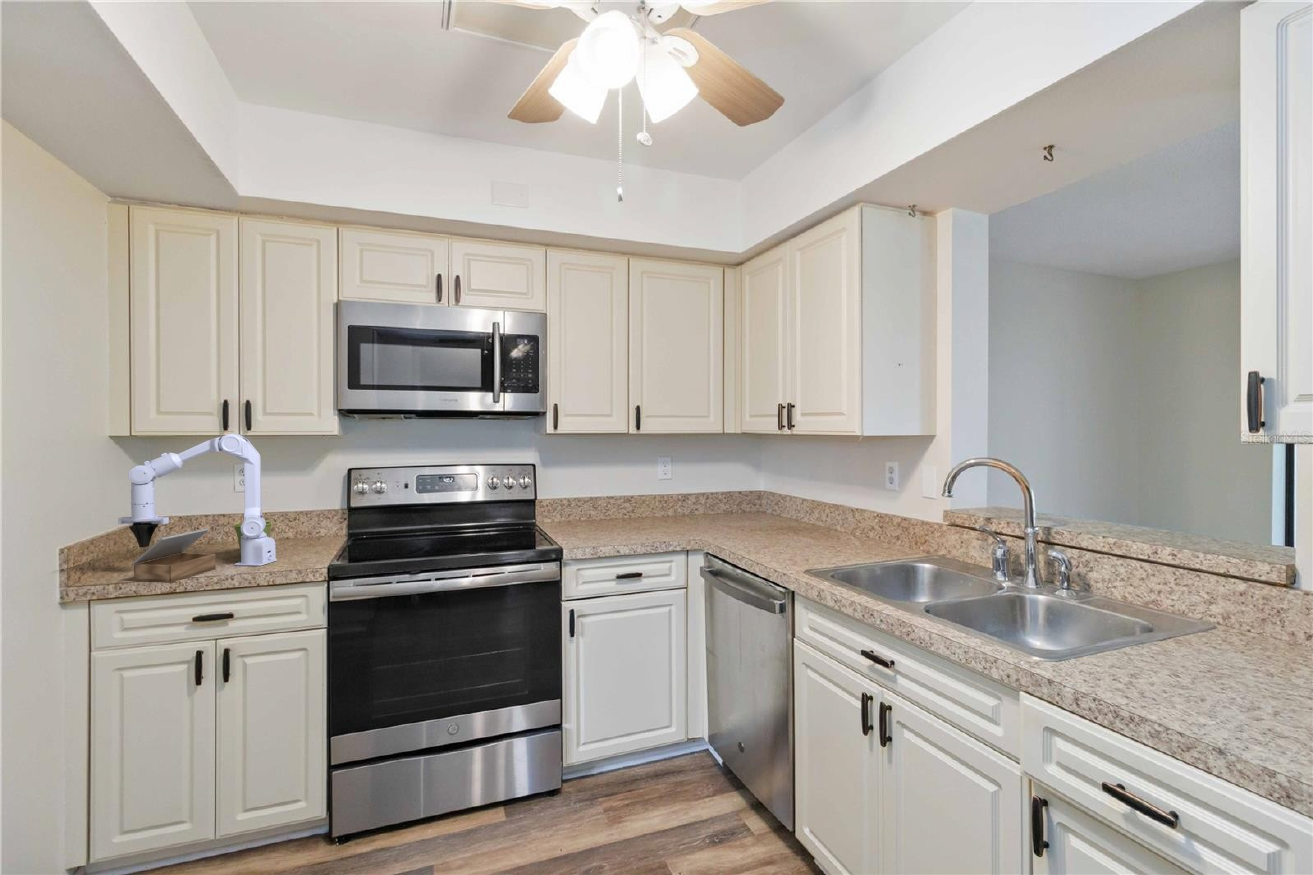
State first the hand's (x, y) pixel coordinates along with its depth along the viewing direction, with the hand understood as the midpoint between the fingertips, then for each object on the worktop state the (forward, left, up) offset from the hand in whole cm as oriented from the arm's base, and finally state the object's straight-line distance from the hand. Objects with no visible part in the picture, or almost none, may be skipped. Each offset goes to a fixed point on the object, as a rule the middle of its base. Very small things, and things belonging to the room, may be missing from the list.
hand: (144, 546), depth 188 cm
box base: (-12, +1, -8) cm, 15 cm away
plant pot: (-14, -28, -9) cm, 32 cm away
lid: (-11, +1, +1) cm, 11 cm away
